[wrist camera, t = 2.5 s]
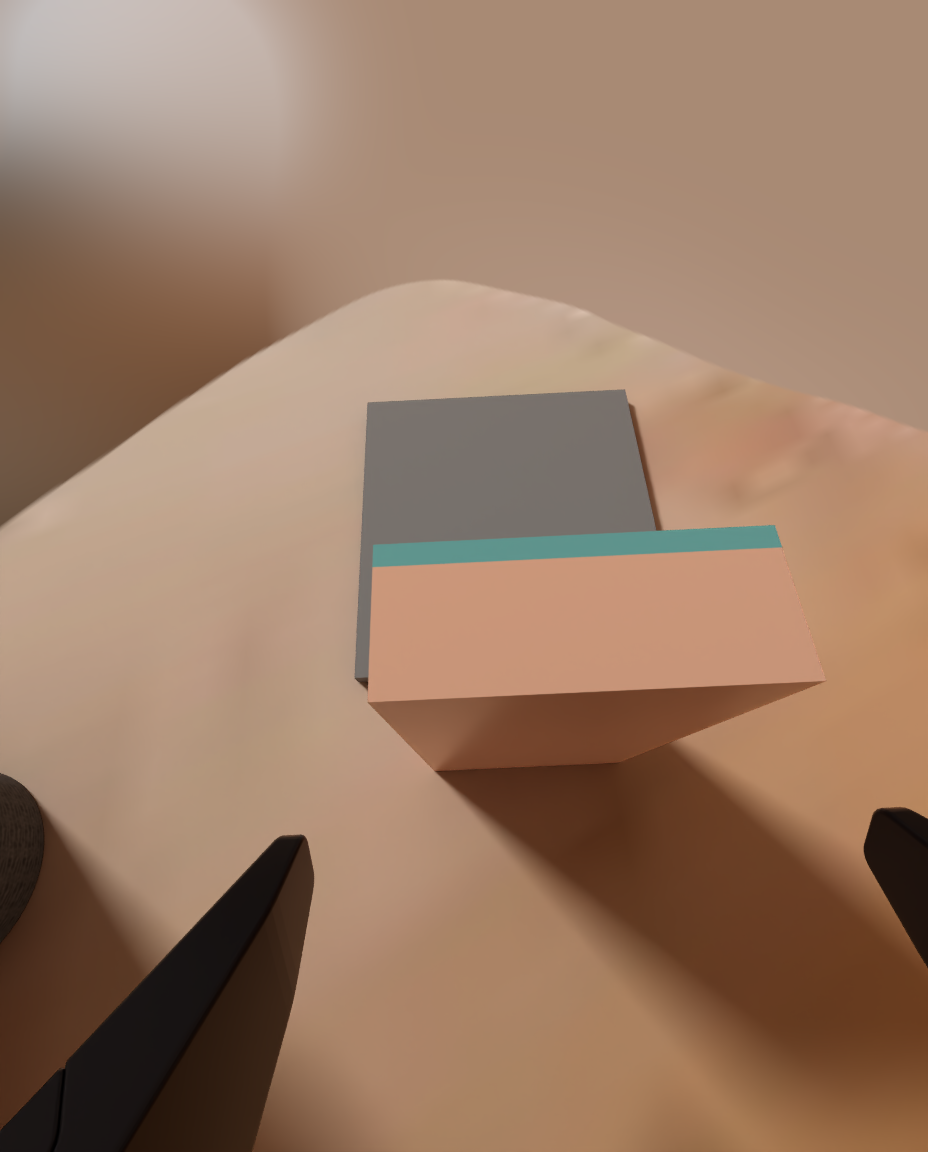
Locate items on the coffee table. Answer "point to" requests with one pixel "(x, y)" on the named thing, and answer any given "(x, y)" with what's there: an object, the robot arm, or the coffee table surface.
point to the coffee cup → (17, 850)
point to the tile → (581, 642)
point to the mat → (496, 475)
